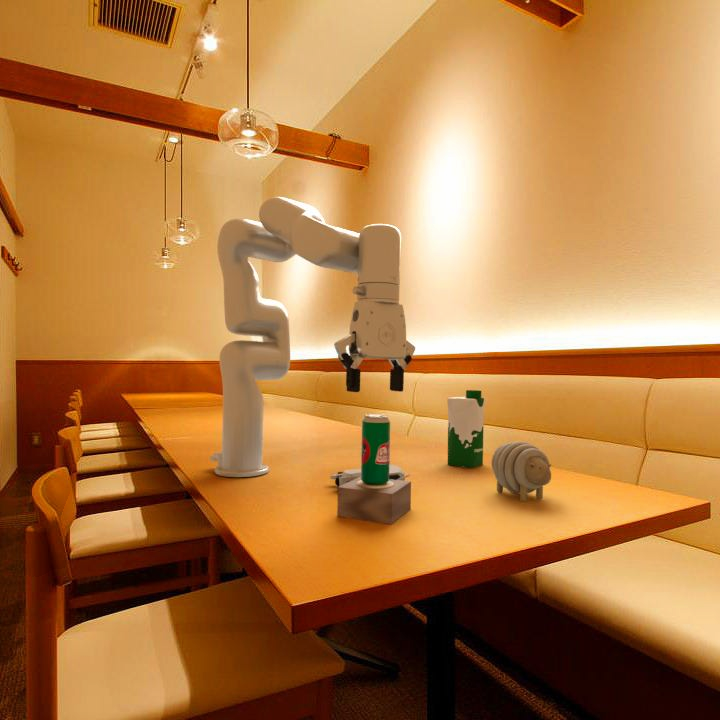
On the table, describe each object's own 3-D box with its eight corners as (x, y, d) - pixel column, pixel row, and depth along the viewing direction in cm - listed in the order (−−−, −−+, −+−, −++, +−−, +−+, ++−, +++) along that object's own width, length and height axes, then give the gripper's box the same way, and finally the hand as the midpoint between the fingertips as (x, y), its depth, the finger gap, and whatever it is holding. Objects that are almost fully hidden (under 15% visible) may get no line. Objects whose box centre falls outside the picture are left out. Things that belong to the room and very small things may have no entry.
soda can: (380, 487, 86) (381, 417, 86) (355, 483, 89) (356, 415, 89) (394, 482, 91) (395, 415, 91) (369, 478, 93) (371, 413, 93)
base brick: (337, 515, 87) (337, 485, 87) (360, 502, 96) (361, 474, 96) (391, 524, 83) (392, 492, 83) (410, 508, 92) (411, 480, 92)
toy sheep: (527, 508, 94) (528, 449, 94) (471, 488, 109) (472, 436, 109) (569, 503, 98) (570, 446, 98) (509, 484, 113) (510, 434, 114)
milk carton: (474, 469, 129) (475, 391, 129) (442, 464, 134) (443, 390, 134) (487, 464, 136) (488, 390, 136) (456, 460, 141) (457, 389, 141)
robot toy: (344, 503, 99) (413, 492, 104) (342, 480, 99) (412, 470, 103) (328, 488, 111) (391, 479, 115) (327, 467, 111) (390, 460, 115)
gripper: (350, 288, 82) (346, 393, 82) (428, 298, 92) (425, 392, 92) (326, 293, 88) (323, 390, 88) (401, 302, 98) (399, 389, 98)
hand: (375, 391), depth 90 cm, fingers open, 9 cm apart
